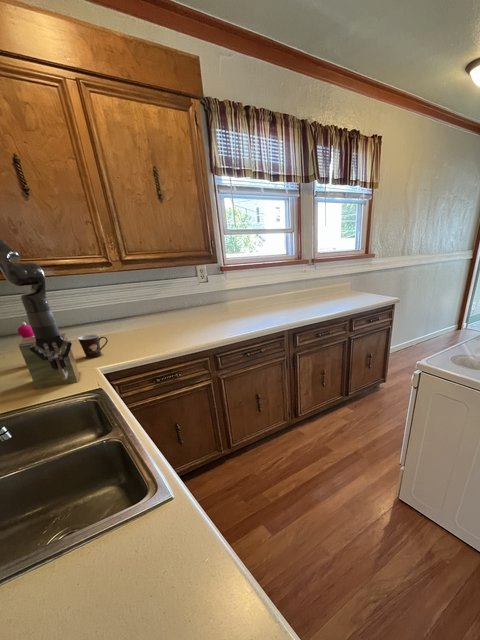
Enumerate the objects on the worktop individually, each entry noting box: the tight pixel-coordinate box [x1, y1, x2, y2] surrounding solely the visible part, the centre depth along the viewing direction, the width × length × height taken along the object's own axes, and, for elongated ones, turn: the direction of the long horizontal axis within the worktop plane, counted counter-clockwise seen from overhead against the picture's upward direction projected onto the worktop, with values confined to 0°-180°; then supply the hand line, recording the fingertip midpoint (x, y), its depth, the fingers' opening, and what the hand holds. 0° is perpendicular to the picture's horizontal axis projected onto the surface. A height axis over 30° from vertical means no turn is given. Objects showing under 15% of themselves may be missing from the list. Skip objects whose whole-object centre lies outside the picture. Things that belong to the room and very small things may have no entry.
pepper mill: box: [17, 321, 35, 341], centre depth 148 cm, size 7×7×20 cm
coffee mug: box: [77, 334, 108, 359], centre depth 161 cm, size 12×9×10 cm
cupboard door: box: [18, 343, 79, 390], centre depth 125 cm, size 8×14×18 cm, turn 118°
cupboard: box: [18, 332, 80, 381], centre depth 132 cm, size 10×14×18 cm
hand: (60, 368), depth 123 cm, fingers closed on cupboard door
